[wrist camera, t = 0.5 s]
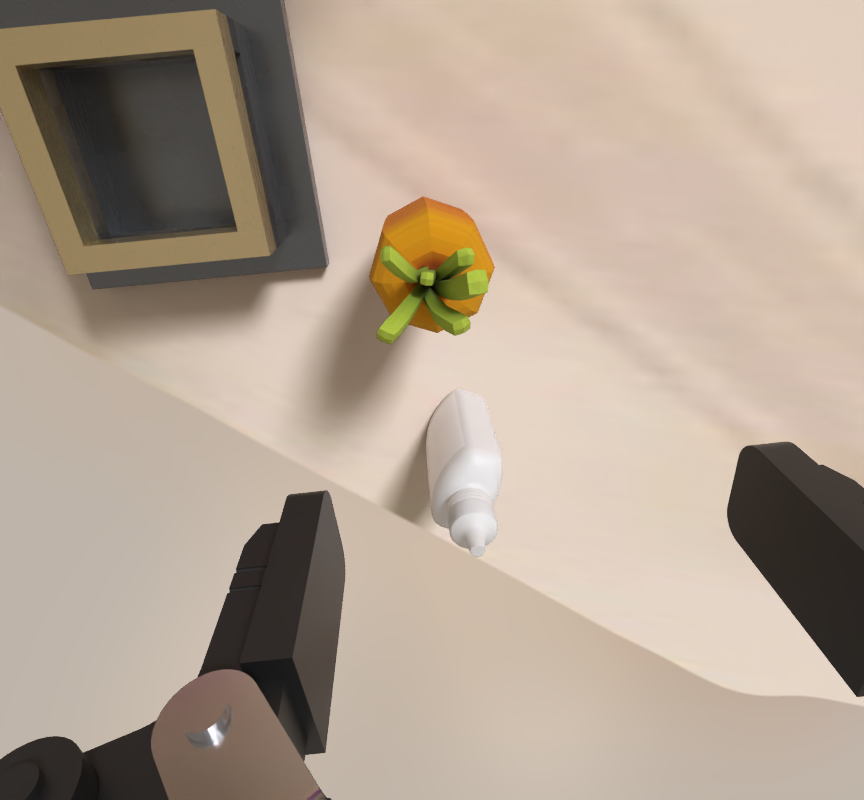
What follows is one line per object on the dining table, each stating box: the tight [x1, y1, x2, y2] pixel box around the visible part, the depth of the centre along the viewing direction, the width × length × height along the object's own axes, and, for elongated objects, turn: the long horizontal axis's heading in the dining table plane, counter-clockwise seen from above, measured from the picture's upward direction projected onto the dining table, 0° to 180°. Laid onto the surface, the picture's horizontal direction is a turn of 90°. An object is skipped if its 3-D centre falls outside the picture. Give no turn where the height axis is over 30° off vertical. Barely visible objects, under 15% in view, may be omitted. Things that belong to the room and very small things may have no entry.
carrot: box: [369, 197, 495, 344], centre depth 23 cm, size 5×5×15 cm
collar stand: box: [0, 0, 329, 289], centre depth 25 cm, size 13×13×6 cm
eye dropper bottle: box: [426, 389, 503, 557], centre depth 31 cm, size 4×6×12 cm
